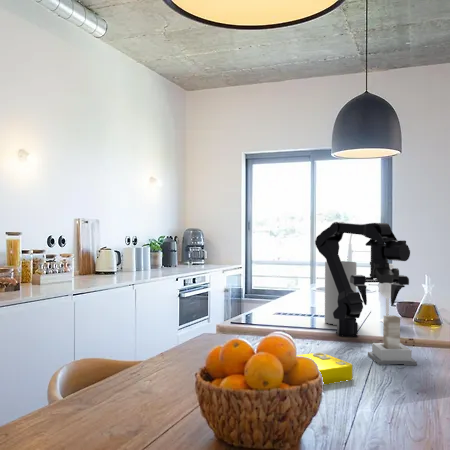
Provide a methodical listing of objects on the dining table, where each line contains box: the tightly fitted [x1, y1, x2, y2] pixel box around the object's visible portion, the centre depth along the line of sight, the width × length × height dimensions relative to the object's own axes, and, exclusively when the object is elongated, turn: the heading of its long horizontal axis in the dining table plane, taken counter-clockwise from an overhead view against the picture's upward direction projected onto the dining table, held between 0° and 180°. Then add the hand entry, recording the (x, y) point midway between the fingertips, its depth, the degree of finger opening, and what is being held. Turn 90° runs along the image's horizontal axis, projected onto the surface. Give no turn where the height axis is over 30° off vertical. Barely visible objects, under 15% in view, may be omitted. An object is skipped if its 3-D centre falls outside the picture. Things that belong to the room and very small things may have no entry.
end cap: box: [367, 342, 418, 366], centre depth 152 cm, size 11×11×4 cm
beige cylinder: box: [382, 315, 401, 349], centre depth 152 cm, size 4×4×12 cm
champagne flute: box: [378, 263, 395, 323], centre depth 213 cm, size 7×7×24 cm
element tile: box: [296, 352, 354, 385], centre depth 136 cm, size 15×15×5 cm
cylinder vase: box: [324, 260, 357, 326], centre depth 208 cm, size 12×12×25 cm
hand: (378, 305), depth 174 cm, fingers open, 9 cm apart
